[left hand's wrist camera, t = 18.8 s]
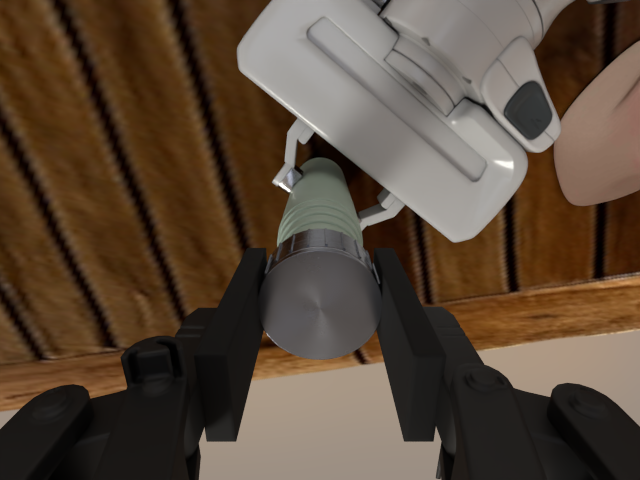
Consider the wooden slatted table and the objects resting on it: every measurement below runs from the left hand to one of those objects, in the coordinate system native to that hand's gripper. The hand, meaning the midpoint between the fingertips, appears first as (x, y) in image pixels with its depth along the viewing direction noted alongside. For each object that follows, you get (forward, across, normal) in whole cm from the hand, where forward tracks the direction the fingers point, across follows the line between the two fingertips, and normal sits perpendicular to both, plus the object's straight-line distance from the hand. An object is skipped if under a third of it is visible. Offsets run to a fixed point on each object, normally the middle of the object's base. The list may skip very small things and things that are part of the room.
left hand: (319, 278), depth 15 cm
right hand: (+12, 0, -1) cm, 12 cm away
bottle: (+19, 0, 0) cm, 19 cm away
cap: (-2, 0, 0) cm, 2 cm away
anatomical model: (+19, +26, +5) cm, 33 cm away
